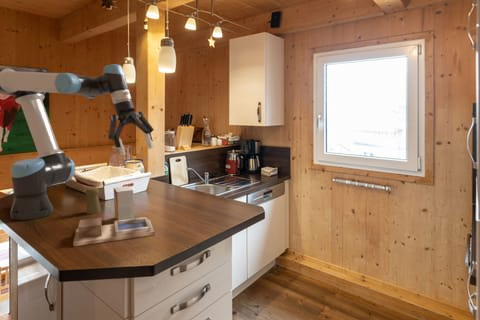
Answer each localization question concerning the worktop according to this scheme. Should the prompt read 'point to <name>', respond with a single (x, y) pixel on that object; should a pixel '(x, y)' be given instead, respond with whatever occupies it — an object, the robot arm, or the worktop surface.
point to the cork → (93, 201)
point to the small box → (123, 203)
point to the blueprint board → (111, 230)
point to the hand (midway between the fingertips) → (137, 151)
